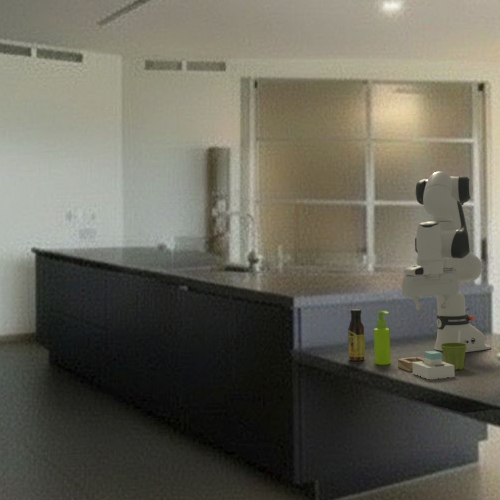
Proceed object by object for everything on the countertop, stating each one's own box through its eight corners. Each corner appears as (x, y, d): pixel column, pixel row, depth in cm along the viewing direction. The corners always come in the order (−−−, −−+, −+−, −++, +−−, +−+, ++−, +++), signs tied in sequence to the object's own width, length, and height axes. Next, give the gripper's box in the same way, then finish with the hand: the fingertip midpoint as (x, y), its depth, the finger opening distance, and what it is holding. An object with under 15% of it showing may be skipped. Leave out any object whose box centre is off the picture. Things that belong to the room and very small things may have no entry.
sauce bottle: (347, 359, 297) (345, 308, 297) (362, 358, 298) (361, 307, 297) (350, 362, 291) (349, 310, 290) (366, 361, 291) (365, 309, 291)
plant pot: (463, 372, 265) (463, 347, 264) (437, 370, 270) (436, 346, 269) (471, 367, 273) (470, 343, 272) (445, 365, 278) (444, 341, 277)
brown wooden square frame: (418, 364, 280) (418, 356, 280) (431, 369, 271) (431, 361, 271) (397, 366, 278) (397, 358, 278) (409, 371, 269) (409, 363, 269)
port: (438, 371, 268) (437, 358, 267) (454, 376, 257) (454, 363, 257) (412, 373, 265) (412, 360, 265) (428, 379, 254) (427, 366, 254)
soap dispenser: (382, 365, 281) (381, 312, 280) (371, 363, 287) (369, 310, 286) (395, 363, 284) (393, 310, 283) (384, 361, 290) (382, 309, 289)
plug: (435, 373, 264) (434, 350, 264) (442, 376, 259) (441, 353, 259) (424, 374, 263) (424, 351, 263) (431, 377, 258) (431, 353, 258)
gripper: (452, 266, 265) (453, 306, 266) (399, 269, 260) (400, 309, 261) (462, 267, 259) (463, 307, 260) (407, 270, 254) (409, 311, 255)
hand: (431, 308), depth 260 cm, fingers open, 8 cm apart
